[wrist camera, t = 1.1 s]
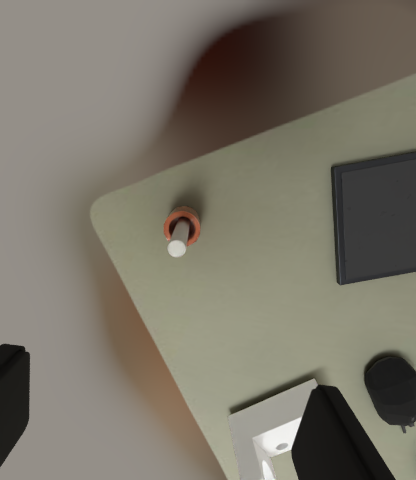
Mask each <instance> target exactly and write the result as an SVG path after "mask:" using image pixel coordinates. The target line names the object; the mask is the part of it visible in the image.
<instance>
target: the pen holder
mask: <svg viewBox="0 0 416 480" xmlns="http://www.w3.org/2000/svg"><path fill="white" fill-rule="evenodd" d="M181 217H186V218H188V219H189V221H190V227H189V233H188V240H187V246H189V245H191V244H193V243H194V242H196V240H197V239H198V237H199V235H200V218H199V215H198V213H197V212H196V211H195V210H194V209H193V208H191V207H188V206H180V207H177V208H175V209H174V210H173V211H172V212H171V213H170V214H169V216H168V217H167V219H166V221H165V223H164V234H165V236H166V238H167V240H168V241H170V239H171V236H172V234H173V232H174V229H175V227H176V224H177V222H178V220H179V219H180V218H181Z"/></svg>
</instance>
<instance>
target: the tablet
mask: <svg viewBox="0 0 416 480" xmlns="http://www.w3.org/2000/svg"><path fill="white" fill-rule="evenodd" d="M331 177H332V196H333V214H334V233H335V252H336V271H337V283H338V284H339V285H344V284H350V283H355V282H361V281H367V280H372V279H378V278H383V277H389V276H395V275H400V274H406V273H411V272H416V152H411V153H406V154H400V155H395V156H389V157H384V158H379V159H373V160H368V161H362V162H357V163H352V164H346V165H341V166H335V167H331Z"/></svg>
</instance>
